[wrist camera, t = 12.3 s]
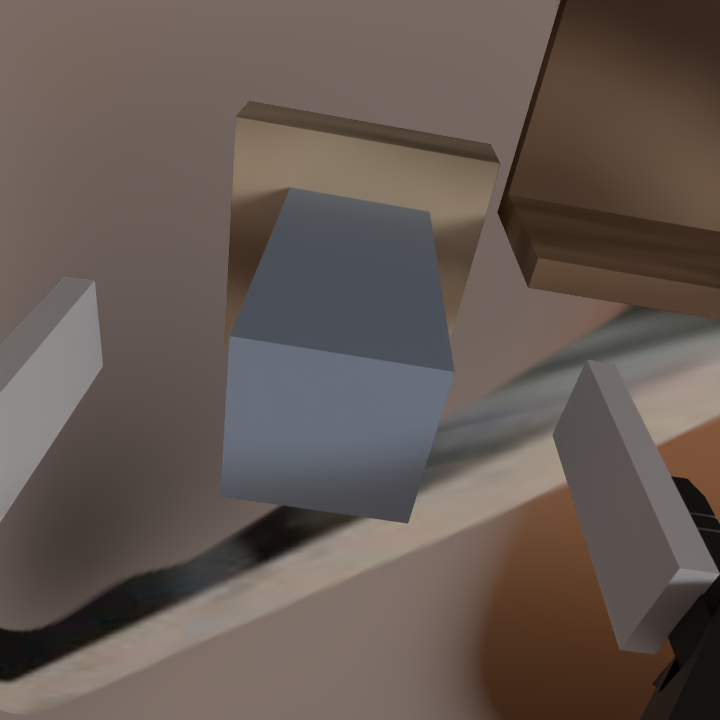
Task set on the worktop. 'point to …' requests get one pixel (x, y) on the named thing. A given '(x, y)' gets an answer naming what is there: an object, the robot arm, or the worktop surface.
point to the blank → (338, 361)
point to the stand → (354, 185)
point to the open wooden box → (623, 157)
